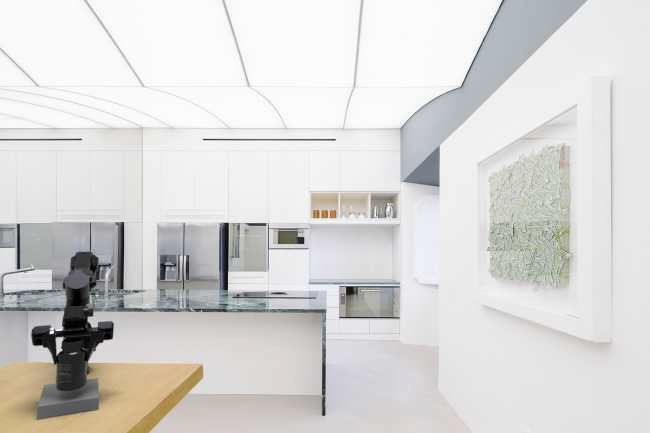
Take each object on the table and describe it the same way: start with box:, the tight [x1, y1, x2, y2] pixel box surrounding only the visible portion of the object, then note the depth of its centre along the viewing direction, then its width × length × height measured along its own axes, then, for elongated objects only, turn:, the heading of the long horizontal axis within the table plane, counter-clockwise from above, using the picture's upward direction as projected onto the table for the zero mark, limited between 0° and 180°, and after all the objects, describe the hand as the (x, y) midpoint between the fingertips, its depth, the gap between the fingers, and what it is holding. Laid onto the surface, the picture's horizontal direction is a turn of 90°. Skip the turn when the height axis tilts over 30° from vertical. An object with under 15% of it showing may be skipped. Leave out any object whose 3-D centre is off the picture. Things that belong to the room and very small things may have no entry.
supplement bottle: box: [55, 338, 88, 391], centre depth 107 cm, size 7×7×12 cm
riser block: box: [36, 377, 100, 420], centre depth 109 cm, size 16×13×3 cm
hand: (71, 362), depth 105 cm, fingers closed on supplement bottle, 7 cm apart
